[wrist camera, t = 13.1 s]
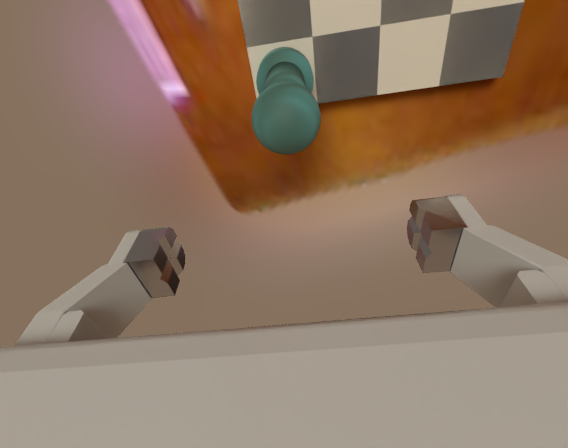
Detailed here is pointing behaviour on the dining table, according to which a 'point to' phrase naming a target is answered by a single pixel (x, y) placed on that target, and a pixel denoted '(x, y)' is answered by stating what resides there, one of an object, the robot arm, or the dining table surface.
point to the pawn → (285, 102)
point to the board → (384, 41)
